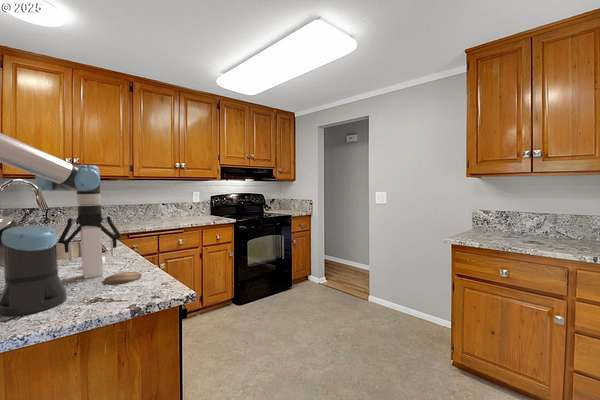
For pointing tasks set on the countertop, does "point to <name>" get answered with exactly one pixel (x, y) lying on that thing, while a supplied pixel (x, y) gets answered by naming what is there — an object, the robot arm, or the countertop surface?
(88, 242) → the milk
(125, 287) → the countertop surface
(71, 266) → the countertop surface
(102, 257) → the cream rounded dome part
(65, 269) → the countertop surface
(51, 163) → the robot arm
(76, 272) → the countertop surface
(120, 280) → the disc
